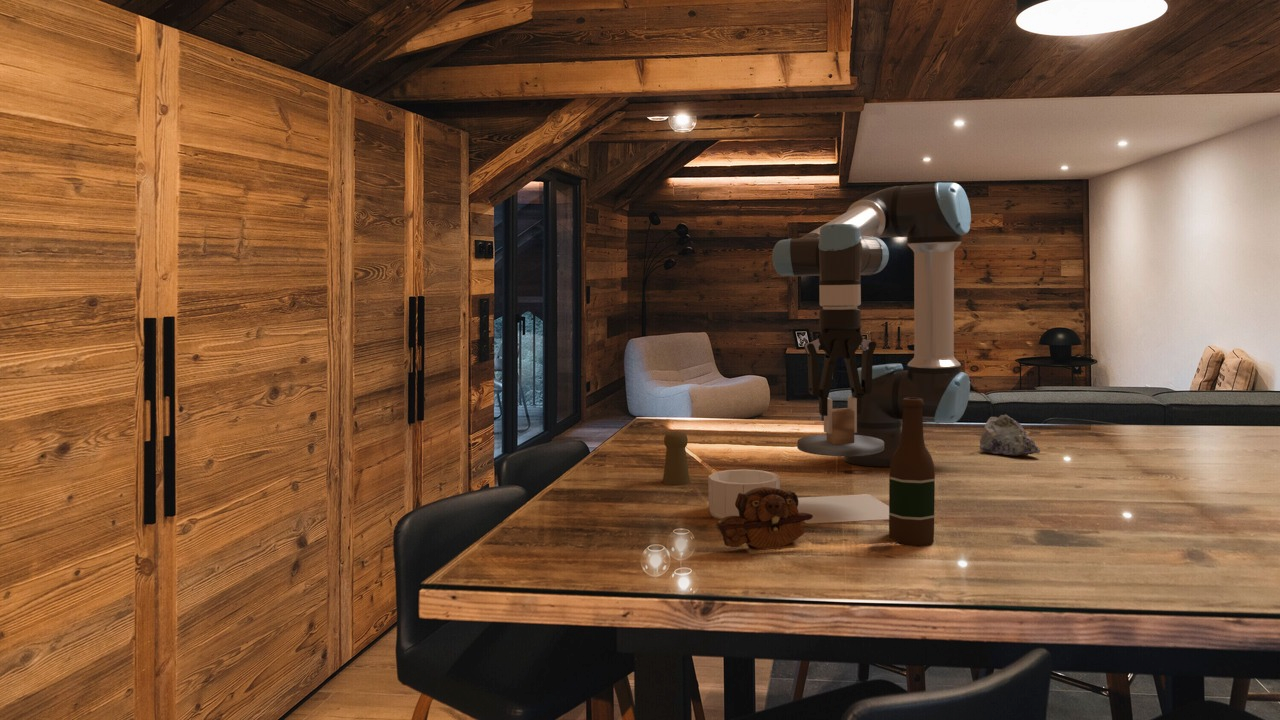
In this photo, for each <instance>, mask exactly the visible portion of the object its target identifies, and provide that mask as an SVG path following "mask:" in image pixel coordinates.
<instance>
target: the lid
mask: <svg viewBox="0 0 1280 720" xmlns="http://www.w3.org/2000/svg"><path fill="white" fill-rule="evenodd" d="M796 442H797V449H798V450H799V451H800V452H804V453H807V454H810V455H817V456H826V457H844V456H864V455H872V454H876V453H880V452H882V451H883V450H884V441H883V440H881V439H878V438H874V437H869V436H862V435H854V411H853V410H850V409H848V407H843V408H842V407H841V408H832V434H828V433H826V434H814V435H807V436H804V437H800V438H799V439H797V441H796Z"/></svg>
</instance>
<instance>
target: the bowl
mask: <svg viewBox="0 0 1280 720" xmlns="http://www.w3.org/2000/svg"><path fill="white" fill-rule="evenodd" d="M707 480H708V483H707V484H708V487H707V488H708V509H709V515H710V516H711V517H713V518H715V519H719V520H720V521H721V520H722V519H723V518H724V517H728V516H739V511H738V509H737V508H736V506H735V502H736V499H737V497H738V494H739V493H742V494H745V493H747V492H748V491H750V490H752V489H755V488H759V487H771V488H776V489H780V490H781V477H780V475H778V474H777V473H776V472H771V471H765V470H761V469H760V470H759V469H744V468H742V469H726V470H725V469H724V470H719V471H716V472H713V473H711V474H709V475H708V479H707Z"/></svg>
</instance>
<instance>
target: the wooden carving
mask: <svg viewBox="0 0 1280 720" xmlns="http://www.w3.org/2000/svg"><path fill="white" fill-rule="evenodd" d="M798 498H799V497H798V495H797V494H796V492H795V491H792V490H787V491H786V490H784V489H781V488H780V489H776V488H771V487H759V488H755V489H752V490H750V491H748V492H747V493H745V494H742V493H739V494H738V497H737V499H736V502H735V506H736V508H737V509H738V511H739V516H728V517H723V519H722V520H721V519H720V520H719V521H717V522H716V528H717V529H718V530H719V532H720V534H721V536H722V540H723V542H724V546H727V547H731V548H738V547H741V546H742V545H745V544H747V546H751V547H754V548H756V549H773V548H781V547H784V546H787V545H789V544H791V543H793V542H795V541H797V540H798V539H800V538H801V537H802V536H803V535H804V534H805V533H806V530H805V529H804V528H803V527H802V523H801V522H804V521H805V520H809V519H811V518H812V517H813V515H812V514H808V513H804V512H801V513H799V511H798V509H797V507H798Z"/></svg>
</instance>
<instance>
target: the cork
mask: <svg viewBox="0 0 1280 720" xmlns="http://www.w3.org/2000/svg"><path fill="white" fill-rule="evenodd" d="M663 444H664V446H665V448H666V452H665V459H664V460H665V461H664V466H663V467H664V468H663V469H664V470H663V477H662V484H664V485H667V486H684V485H688V484H690V483H691V479H690V472H689V465H688V459H687V458H688V457H687V451H686V448H687V445H688V444H689V443H688V436H687V434H686V433H684V432H680V431H671V432H668V433H666V434H665V435H664V438H663Z"/></svg>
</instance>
